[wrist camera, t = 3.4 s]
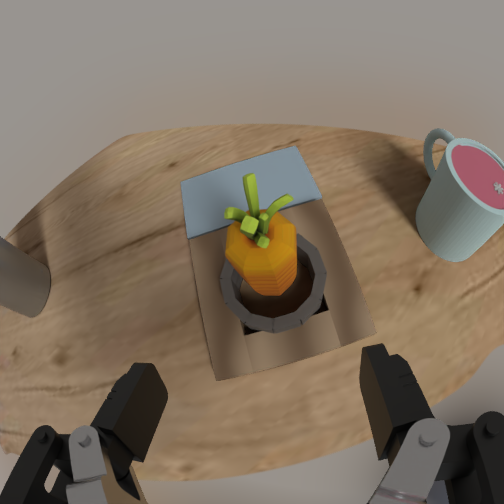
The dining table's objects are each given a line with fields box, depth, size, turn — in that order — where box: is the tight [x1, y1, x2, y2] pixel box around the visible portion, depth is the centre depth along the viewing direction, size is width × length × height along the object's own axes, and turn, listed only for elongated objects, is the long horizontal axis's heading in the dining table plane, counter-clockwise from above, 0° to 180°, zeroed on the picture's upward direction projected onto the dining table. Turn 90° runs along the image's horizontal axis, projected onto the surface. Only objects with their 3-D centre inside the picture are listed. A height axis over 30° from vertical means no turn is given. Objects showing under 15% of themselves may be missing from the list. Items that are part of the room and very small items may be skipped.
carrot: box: [224, 173, 297, 296], centre depth 20 cm, size 5×5×15 cm
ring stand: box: [189, 199, 377, 381], centre depth 25 cm, size 15×15×4 cm
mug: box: [416, 128, 504, 262], centre depth 22 cm, size 14×9×10 cm
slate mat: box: [181, 146, 322, 240], centre depth 32 cm, size 16×9×1 cm, turn 104°
